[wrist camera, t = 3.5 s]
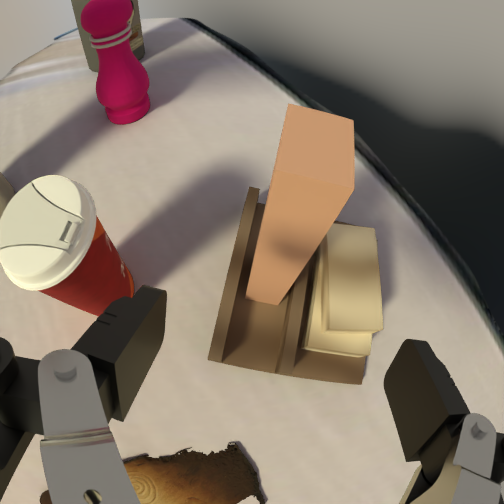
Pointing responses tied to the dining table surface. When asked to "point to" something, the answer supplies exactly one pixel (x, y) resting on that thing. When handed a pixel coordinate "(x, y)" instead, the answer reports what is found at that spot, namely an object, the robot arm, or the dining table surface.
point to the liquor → (91, 54)
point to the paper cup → (61, 246)
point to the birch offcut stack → (344, 293)
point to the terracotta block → (301, 198)
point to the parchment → (191, 478)
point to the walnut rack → (271, 318)
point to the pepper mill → (116, 60)
